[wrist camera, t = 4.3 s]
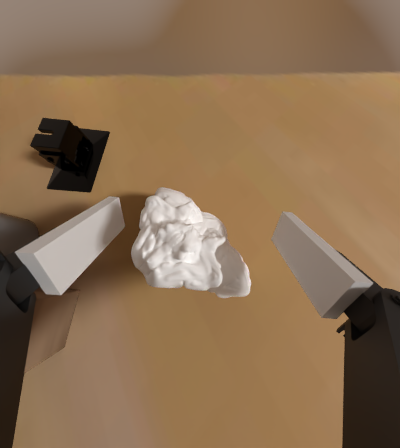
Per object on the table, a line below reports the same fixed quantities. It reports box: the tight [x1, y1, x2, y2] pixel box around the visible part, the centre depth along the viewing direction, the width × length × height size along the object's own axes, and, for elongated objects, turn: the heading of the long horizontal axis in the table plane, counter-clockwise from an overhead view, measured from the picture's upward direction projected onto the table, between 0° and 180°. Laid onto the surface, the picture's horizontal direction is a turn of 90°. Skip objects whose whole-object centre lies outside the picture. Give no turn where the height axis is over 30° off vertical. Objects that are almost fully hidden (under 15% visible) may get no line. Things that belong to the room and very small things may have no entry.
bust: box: [131, 187, 251, 298], centre depth 12 cm, size 12×8×11 cm
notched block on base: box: [30, 118, 110, 192], centre depth 17 cm, size 12×7×5 cm, turn 175°
